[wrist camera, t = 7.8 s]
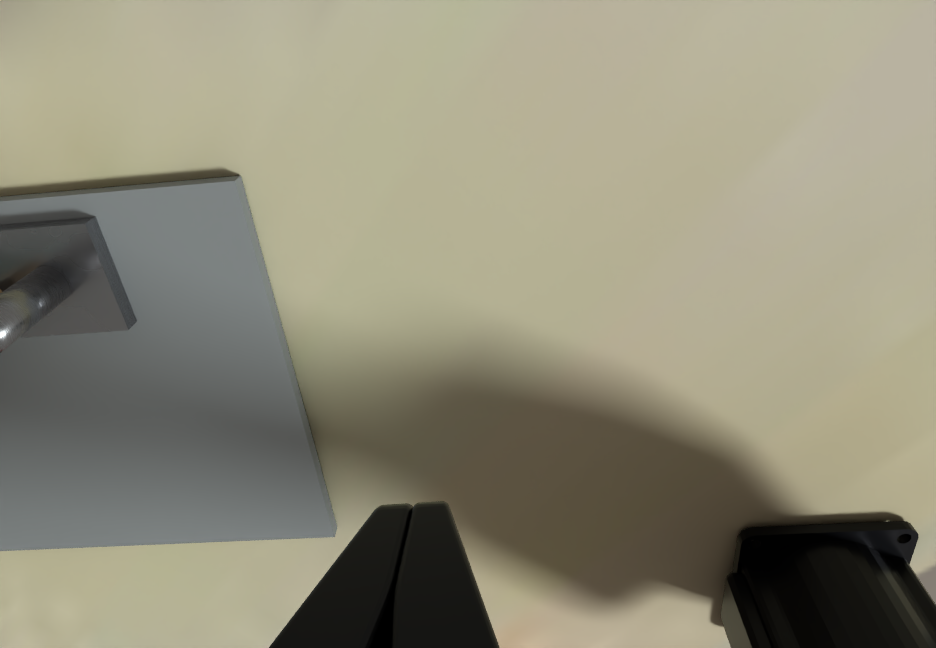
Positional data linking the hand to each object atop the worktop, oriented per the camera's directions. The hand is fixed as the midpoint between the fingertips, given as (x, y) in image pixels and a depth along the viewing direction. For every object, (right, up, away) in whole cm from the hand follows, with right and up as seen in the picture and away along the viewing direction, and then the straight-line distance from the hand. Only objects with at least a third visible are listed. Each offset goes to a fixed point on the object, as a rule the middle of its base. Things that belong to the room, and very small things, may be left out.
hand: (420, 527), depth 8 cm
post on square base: (-12, +4, +13) cm, 18 cm away
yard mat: (-13, 0, +16) cm, 20 cm away
